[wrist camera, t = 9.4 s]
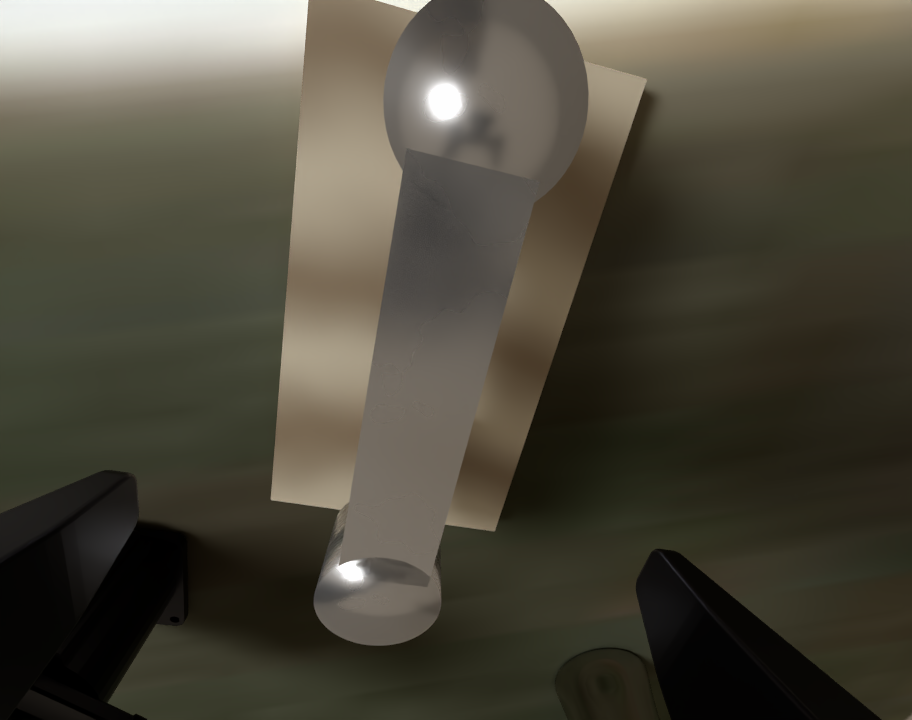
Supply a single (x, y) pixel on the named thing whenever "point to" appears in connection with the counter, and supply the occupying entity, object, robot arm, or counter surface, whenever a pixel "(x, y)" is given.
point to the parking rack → (366, 259)
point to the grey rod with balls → (445, 286)
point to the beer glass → (606, 687)
